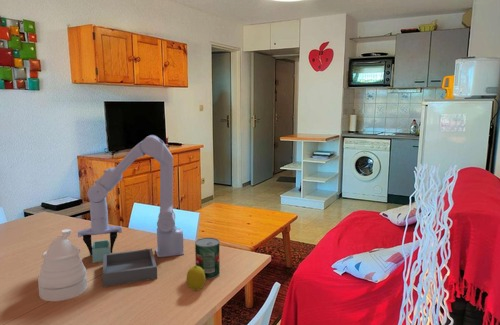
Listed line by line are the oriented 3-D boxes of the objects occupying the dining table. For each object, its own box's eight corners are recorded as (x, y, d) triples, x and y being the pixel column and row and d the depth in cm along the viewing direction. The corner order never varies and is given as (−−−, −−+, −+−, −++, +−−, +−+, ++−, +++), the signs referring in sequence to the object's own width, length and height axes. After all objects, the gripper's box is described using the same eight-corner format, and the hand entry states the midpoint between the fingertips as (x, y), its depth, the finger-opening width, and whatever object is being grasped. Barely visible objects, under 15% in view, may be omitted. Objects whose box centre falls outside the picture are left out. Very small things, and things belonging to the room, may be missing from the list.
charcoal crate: (152, 259, 132) (151, 248, 132) (157, 278, 118) (156, 266, 117) (104, 265, 127) (103, 254, 126) (103, 286, 112) (102, 274, 112)
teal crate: (110, 252, 139) (109, 239, 138) (109, 260, 131) (109, 247, 131) (93, 254, 137) (93, 241, 136) (92, 263, 129) (92, 249, 129)
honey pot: (75, 276, 119) (71, 222, 116) (95, 288, 111) (91, 231, 108) (31, 291, 109) (26, 233, 107) (50, 306, 101) (45, 243, 98)
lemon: (202, 296, 107) (201, 270, 106) (184, 294, 108) (183, 268, 107) (208, 287, 112) (207, 262, 111) (190, 285, 113) (190, 260, 112)
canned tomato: (191, 272, 122) (190, 241, 120) (210, 266, 127) (210, 235, 125) (204, 281, 116) (203, 248, 114) (224, 274, 121) (224, 242, 119)
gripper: (120, 212, 138) (122, 246, 140) (77, 216, 133) (80, 251, 135) (121, 217, 131) (122, 253, 133) (76, 221, 126) (78, 259, 128)
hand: (101, 253), depth 134 cm, fingers open, 6 cm apart
